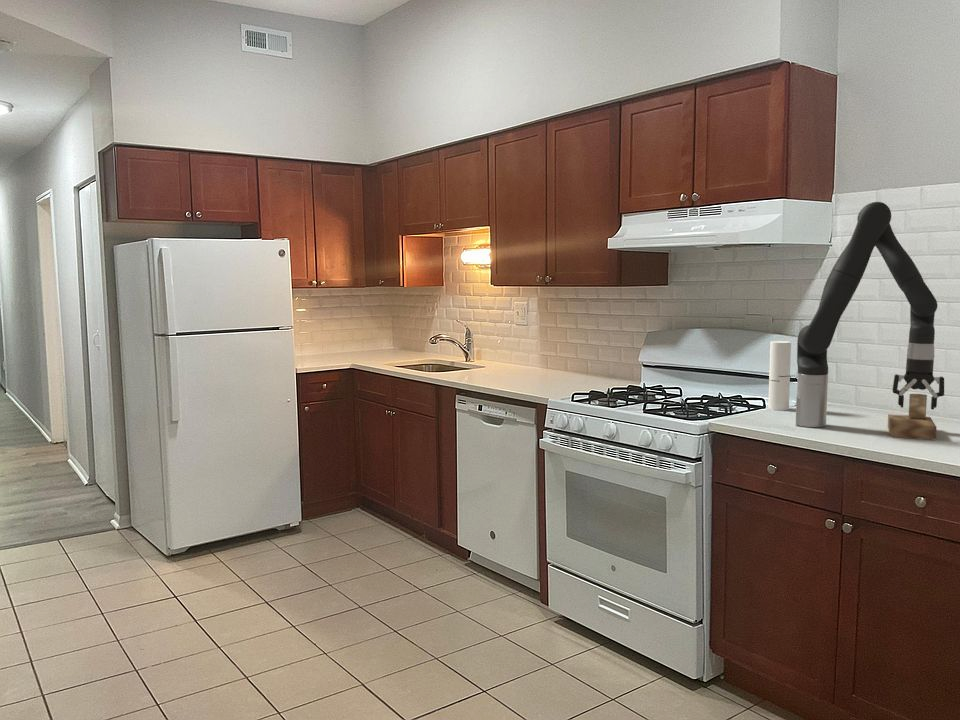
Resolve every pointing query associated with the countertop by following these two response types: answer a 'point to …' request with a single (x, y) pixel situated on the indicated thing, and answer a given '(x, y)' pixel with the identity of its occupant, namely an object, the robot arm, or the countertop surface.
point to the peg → (917, 406)
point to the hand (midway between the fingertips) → (916, 408)
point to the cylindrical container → (779, 375)
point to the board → (911, 427)
